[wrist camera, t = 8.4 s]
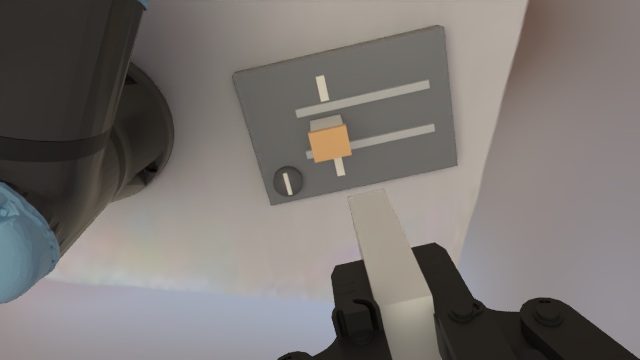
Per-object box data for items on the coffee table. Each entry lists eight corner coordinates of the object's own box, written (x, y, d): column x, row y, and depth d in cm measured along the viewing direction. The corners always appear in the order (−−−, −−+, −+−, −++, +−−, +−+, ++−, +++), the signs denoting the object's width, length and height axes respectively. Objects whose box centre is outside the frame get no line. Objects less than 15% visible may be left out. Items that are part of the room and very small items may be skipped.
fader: (314, 146, 44) (315, 162, 40) (307, 119, 43) (308, 134, 39) (347, 138, 44) (351, 154, 40) (341, 111, 43) (345, 125, 38)
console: (272, 197, 49) (270, 210, 46) (235, 72, 43) (230, 78, 40) (451, 158, 48) (461, 170, 45) (437, 24, 42) (447, 27, 39)
